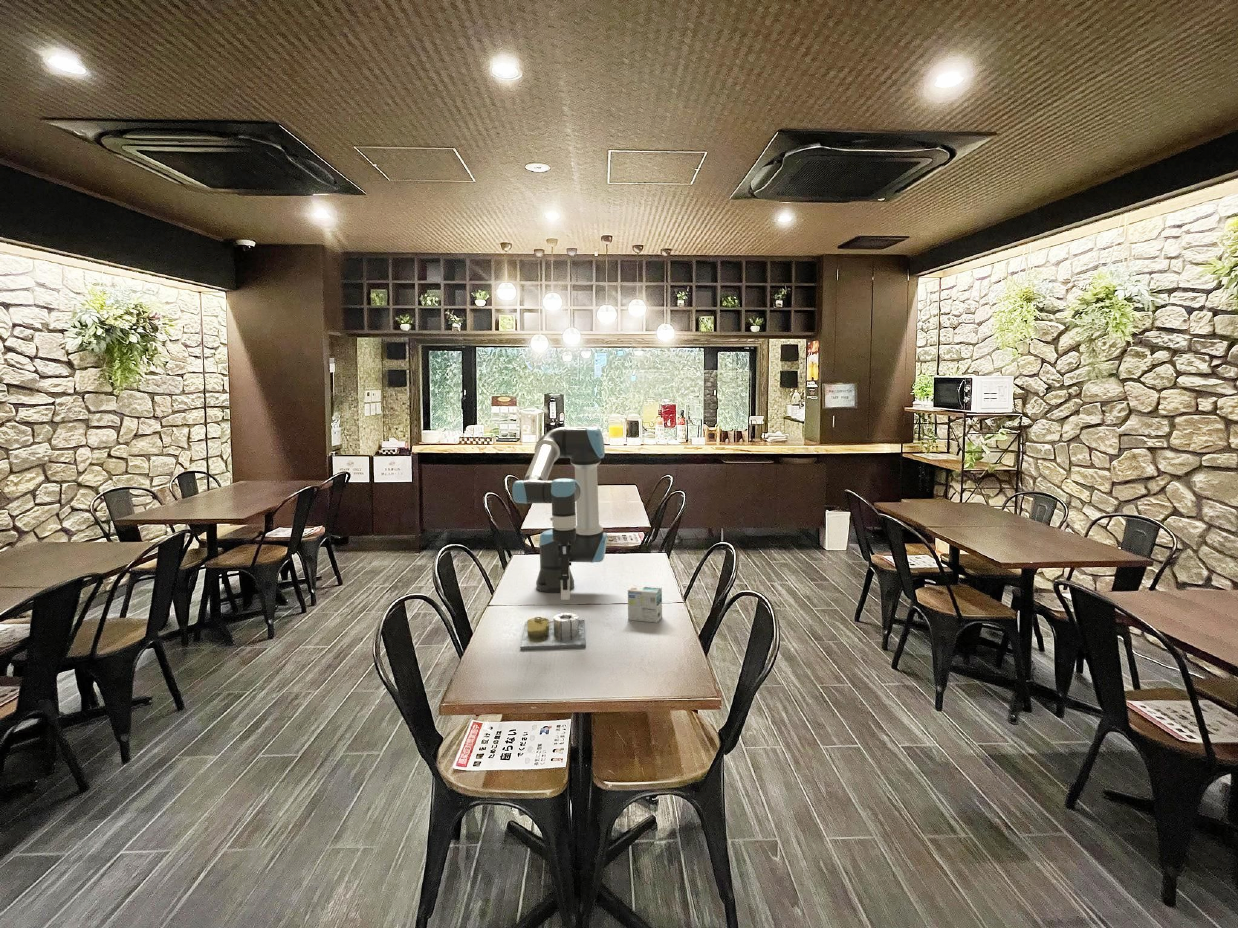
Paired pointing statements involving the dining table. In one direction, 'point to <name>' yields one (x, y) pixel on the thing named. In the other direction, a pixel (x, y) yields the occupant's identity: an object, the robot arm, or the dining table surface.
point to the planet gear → (566, 624)
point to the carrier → (549, 636)
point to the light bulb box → (645, 603)
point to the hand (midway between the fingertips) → (565, 592)
